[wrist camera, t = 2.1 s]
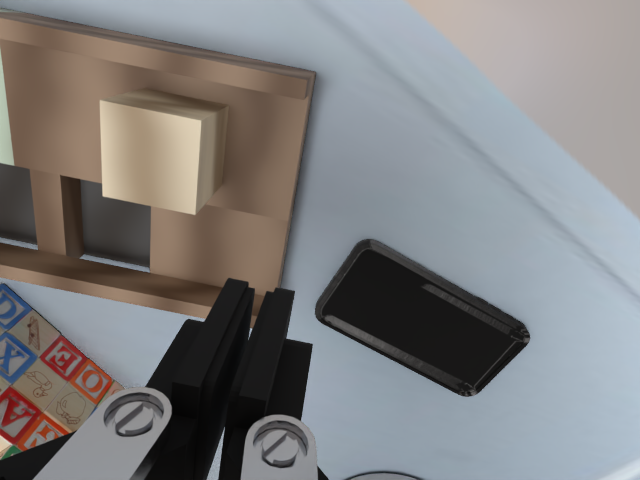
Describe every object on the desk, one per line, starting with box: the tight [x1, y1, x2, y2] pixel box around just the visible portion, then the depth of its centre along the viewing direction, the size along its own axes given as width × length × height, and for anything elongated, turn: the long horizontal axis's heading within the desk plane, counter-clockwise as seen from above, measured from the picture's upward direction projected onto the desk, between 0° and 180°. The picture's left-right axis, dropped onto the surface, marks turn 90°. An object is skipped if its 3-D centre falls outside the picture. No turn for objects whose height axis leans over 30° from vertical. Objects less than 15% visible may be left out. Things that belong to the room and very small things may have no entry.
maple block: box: [100, 88, 229, 215], centre depth 25 cm, size 5×5×5 cm
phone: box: [315, 239, 530, 397], centre depth 34 cm, size 8×1×15 cm
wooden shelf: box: [0, 8, 316, 328], centre depth 28 cm, size 26×16×5 cm, turn 79°
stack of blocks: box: [0, 284, 125, 460], centre depth 35 cm, size 21×6×12 cm, turn 37°
